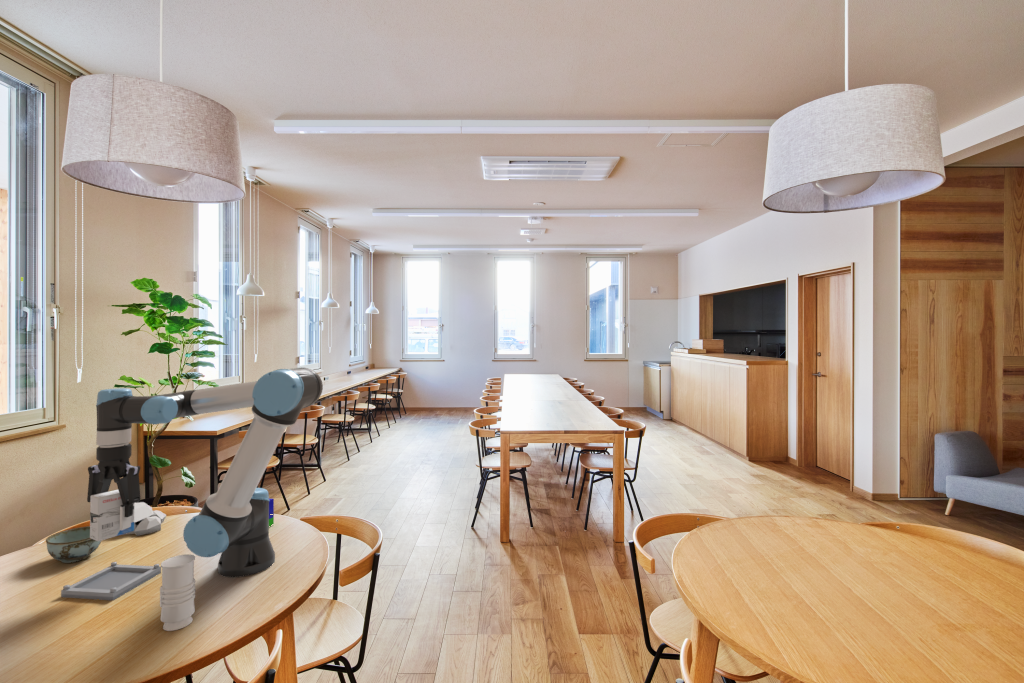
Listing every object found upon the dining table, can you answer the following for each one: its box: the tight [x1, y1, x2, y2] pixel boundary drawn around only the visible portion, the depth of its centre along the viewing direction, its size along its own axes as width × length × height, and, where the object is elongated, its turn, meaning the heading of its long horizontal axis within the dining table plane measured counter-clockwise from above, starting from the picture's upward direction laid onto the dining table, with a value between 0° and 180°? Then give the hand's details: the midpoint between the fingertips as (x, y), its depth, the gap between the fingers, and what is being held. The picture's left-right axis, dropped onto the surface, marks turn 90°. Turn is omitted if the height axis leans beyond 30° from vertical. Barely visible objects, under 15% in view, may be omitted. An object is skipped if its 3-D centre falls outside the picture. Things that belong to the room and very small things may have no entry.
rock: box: [120, 501, 167, 537], centre depth 172 cm, size 18×20×10 cm
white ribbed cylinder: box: [159, 553, 196, 632], centre depth 115 cm, size 7×7×15 cm
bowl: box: [45, 525, 102, 564], centre depth 148 cm, size 14×13×8 cm
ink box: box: [89, 489, 134, 542], centre depth 133 cm, size 8×5×12 cm, turn 153°
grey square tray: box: [60, 561, 162, 601], centre depth 133 cm, size 15×15×3 cm
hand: (113, 527), depth 133 cm, fingers closed on ink box, 6 cm apart
